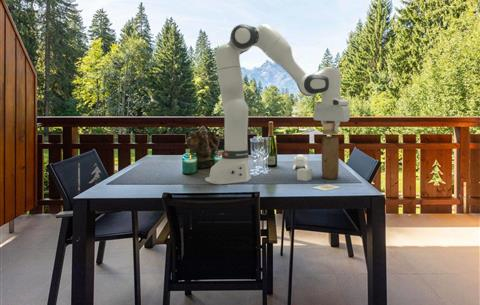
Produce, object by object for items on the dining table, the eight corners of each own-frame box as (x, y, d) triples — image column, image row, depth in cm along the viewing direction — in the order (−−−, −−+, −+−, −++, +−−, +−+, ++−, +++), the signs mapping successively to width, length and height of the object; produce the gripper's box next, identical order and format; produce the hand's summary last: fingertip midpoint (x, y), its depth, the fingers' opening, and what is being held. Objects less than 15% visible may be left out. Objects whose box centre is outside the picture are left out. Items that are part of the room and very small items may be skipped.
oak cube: (330, 134, 178) (330, 124, 177) (322, 133, 182) (322, 123, 181) (337, 134, 181) (338, 123, 180) (329, 133, 185) (330, 123, 184)
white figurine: (292, 172, 214) (291, 167, 200) (293, 157, 216) (292, 151, 202) (308, 172, 213) (308, 167, 198) (308, 158, 215) (308, 151, 200)
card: (324, 191, 156) (324, 190, 156) (312, 188, 162) (312, 187, 162) (340, 187, 162) (340, 186, 162) (328, 184, 167) (328, 184, 167)
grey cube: (306, 181, 177) (306, 170, 176) (296, 179, 180) (297, 169, 179) (311, 179, 180) (311, 169, 180) (302, 178, 184) (302, 167, 183)
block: (338, 179, 178) (339, 137, 176) (322, 179, 179) (323, 137, 176) (335, 175, 189) (336, 135, 186) (320, 175, 190) (321, 135, 187)
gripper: (310, 101, 186) (310, 129, 188) (343, 101, 169) (342, 132, 171) (319, 101, 189) (319, 129, 191) (352, 101, 173) (351, 131, 174)
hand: (330, 130), depth 181 cm, fingers closed on oak cube, 5 cm apart
